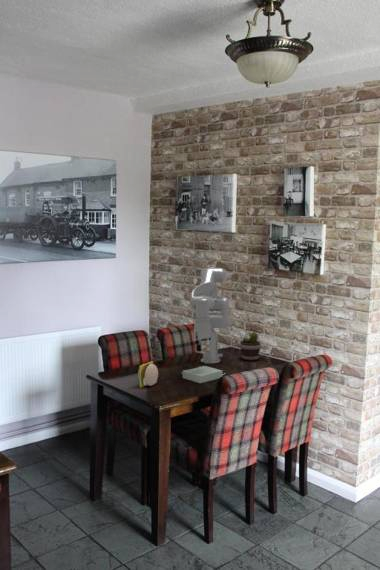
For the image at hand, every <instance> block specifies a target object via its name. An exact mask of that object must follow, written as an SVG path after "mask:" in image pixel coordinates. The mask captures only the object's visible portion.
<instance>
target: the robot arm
mask: <svg viewBox="0 0 380 570" xmlns="http://www.w3.org/2000/svg"><path fill="white" fill-rule="evenodd" d="M228 276H229V275H228V271H227V270H226V269H225V268H222V267H207V268H204V269H203V270H201V271H200V284H198V285H197V286H195V287H194V288H193V289H192V290H191V293H190V298H189V306H190V308H192V309H193V310H195V322H194V326H193V336H192V337H193V338H192V339H191V341H193V342H194V343H195V352H196V351H199V352H200V351H201V345H200V342H201V340H202V339H207V340H209V352H207V353H202V358H201V359H200V362H201V363H203V362H204V363H203V364H217V363H220V362H221V359H220V358H221V357H223V356H224V355H223V353H219V345H218V344H219V335H218V332H217V330H216V329H228V327H229V324H230V300H229V298H228V297H226V296H219V289H218V286H217V285H216V284H215V283H217V284H218V283H226V282H227V280H228ZM202 295H203V296H202ZM212 312H213V313H212ZM214 312H215V313H214ZM216 312H221V313H216ZM198 340H199V342H198ZM199 352H198V353H199Z"/></svg>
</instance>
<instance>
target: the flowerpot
mask: <svg viewBox="0 0 380 570" xmlns="http://www.w3.org/2000/svg"><path fill="white" fill-rule="evenodd" d="M238 346H239V348H240V353H241V354H240V357H241V358H242V360H243V361H248V362H253V361H258V359H259V358H260V350H261V348H262V343H261V342H260V341H259V335H258V332H257V331H255V330H254V331H252V333H250V335H249V337H248V336H246V337H243V339H242V340H241V341H240V342H239V343H238Z"/></svg>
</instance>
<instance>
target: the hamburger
mask: <svg viewBox="0 0 380 570" xmlns="http://www.w3.org/2000/svg"><path fill="white" fill-rule="evenodd" d="M137 373H138V375H137V378H138V382H139V388H143V387H145V386H149V387H151V386H154V385H155V384H157V381H158V378H159V370H158V367H157V365H155V363H154V361H153V360H152V361H149V362H147V363H142V364H141V365H139V368H138V372H137Z"/></svg>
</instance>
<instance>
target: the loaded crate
mask: <svg viewBox="0 0 380 570" xmlns="http://www.w3.org/2000/svg"><path fill="white" fill-rule="evenodd" d="M198 342H199V340H198ZM200 345H201V351H200V352H199V351H196V350H195V352H196V353H199V354H203V353H207V352H209V340H207V339H202V340H201V342H200Z"/></svg>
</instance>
